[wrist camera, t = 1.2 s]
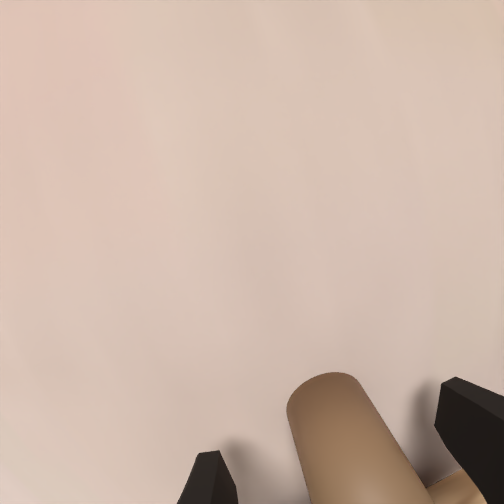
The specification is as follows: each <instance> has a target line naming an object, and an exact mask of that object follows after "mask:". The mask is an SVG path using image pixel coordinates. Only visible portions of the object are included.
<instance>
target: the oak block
mask: <svg viewBox="0 0 504 504" xmlns="http://www.w3.org/2000/svg"><path fill="white" fill-rule="evenodd" d="M426 490H427V492H428V493H429V495H430V496H431V498H432V500H433V501H434V503H435V504H487V502H486V501H485V499H484V497H483V495H482V494H481V492H480V491H479V489H478V488H477V486H476V485H475V484H474V482H473V481H472V480H471V478H470V477H469V476H468V475H467V473H466V472H465V471H464V469H461V470H459V471H458V472H456V473H454V474H452V475H450V476H448V477H447V478H445V479H443V480H441V481H439V482H437V483H435V484H433V485H431V486H429V487H427V488H426Z"/></svg>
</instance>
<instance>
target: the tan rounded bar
mask: <svg viewBox="0 0 504 504" xmlns="http://www.w3.org/2000/svg"><path fill="white" fill-rule="evenodd" d="M287 417H288V420H289V424H290V428H291V431H292V435H293V438H294V442H295V446H296V449H297V453H298V457H299V460H300V464H301V467H302V471H303V475H304V478H305V482H306V485H307V489H308V492H309V496H310V500H311V503H312V504H435V503H434V501H433V500H432V498H431V496H430V495H429V493H428V492H427V490H426V488H425V487H424V485H423V483H422V482H421V480H420V478H419V477H418V475H417V474H416V472H415V470H414V469H413V467H412V466H411V464H410V462H409V461H408V459H407V457H406V456H405V454H404V453H403V451H402V449H401V448H400V446H399V445H398V443H397V441H396V440H395V438H394V437H393V435H392V433H391V432H390V430H389V429H388V427H387V426H386V424H385V422H384V421H383V419H382V418H381V416H380V414H379V413H378V411H377V410H376V408H375V407H374V405H373V403H372V402H371V400H370V399H369V397H368V396H367V394H366V393H365V391H364V389H363V388H362V386H361V385H360V383H359V382H358V381H357V380H356V379H355V378H354V377H352V376H351V375H348V374H345V373H339V372H332V373H325V374H321V375H318V376H316V377H313V378H311V379H309V380H308V381H306V382H304V383H303V384H302V385H301V386H299V387H298V388H297V389H296V390H295V391H294V393H293V394H292V395H291V397H290V399H289V401H288V404H287Z"/></svg>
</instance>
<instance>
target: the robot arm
mask: <svg viewBox="0 0 504 504" xmlns="http://www.w3.org/2000/svg"><path fill="white" fill-rule="evenodd" d="M434 426H435V428H436V430H437V431H438V433H439V435H440V437H441V439H442V441H443V442H444V444H445V446H446V447H447V449H448V450H449V451H450V453H451V454H452V455H453V457H454V458H455V459H456V460H457V462H458V463H459V464H460V466H461V467H462V468H463V469H464V471H465V472H466V473H467V475H468V476H469V477H470V478H471V480H472V481H473V482H474V484H475V485H476V486H477V488H478V489H479V491H480V492H481V494H482V495H483V497H484V499H485V501H486V502H487V504H504V396H502V395H499V394H497V393H494V392H492V391H489V390H487V389H484V388H482V387H480V386H477V385H475V384H473V383H470V382H468V381H465V380H463V379H460V378H458V377H454V378H452V379H450V380H448V381H446V382H443V383H441V389H440V396H439V402H438V408H437V413H436V419H435V424H434ZM177 504H238V498H237V491H236V486H235V484H234V481H233V479H232V477H231V475H230V473H229V471H228V469H227V466H226V464H225V462H224V460H223V458H222V455H221V453H220V451H219V450H218V451H211V452H203V453H199V454H198V455H197V457H196V460H195V463H194V466H193V468H192V471H191V473H190V476H189V478H188V481H187V483H186V485H185V488H184V490H183V492H182V494H181V496H180V498H179V500H178V502H177Z"/></svg>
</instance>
